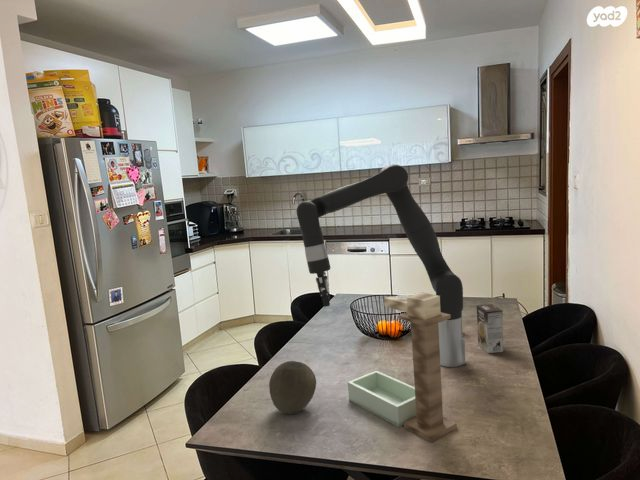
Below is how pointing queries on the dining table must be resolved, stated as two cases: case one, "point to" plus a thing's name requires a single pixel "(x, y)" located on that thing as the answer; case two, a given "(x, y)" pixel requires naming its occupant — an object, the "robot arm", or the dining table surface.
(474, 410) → the dining table surface
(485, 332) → the coffee box
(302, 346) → the dining table surface
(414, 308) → the peg
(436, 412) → the shelf stand
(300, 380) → the cantaloupe
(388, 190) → the robot arm
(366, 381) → the open box
